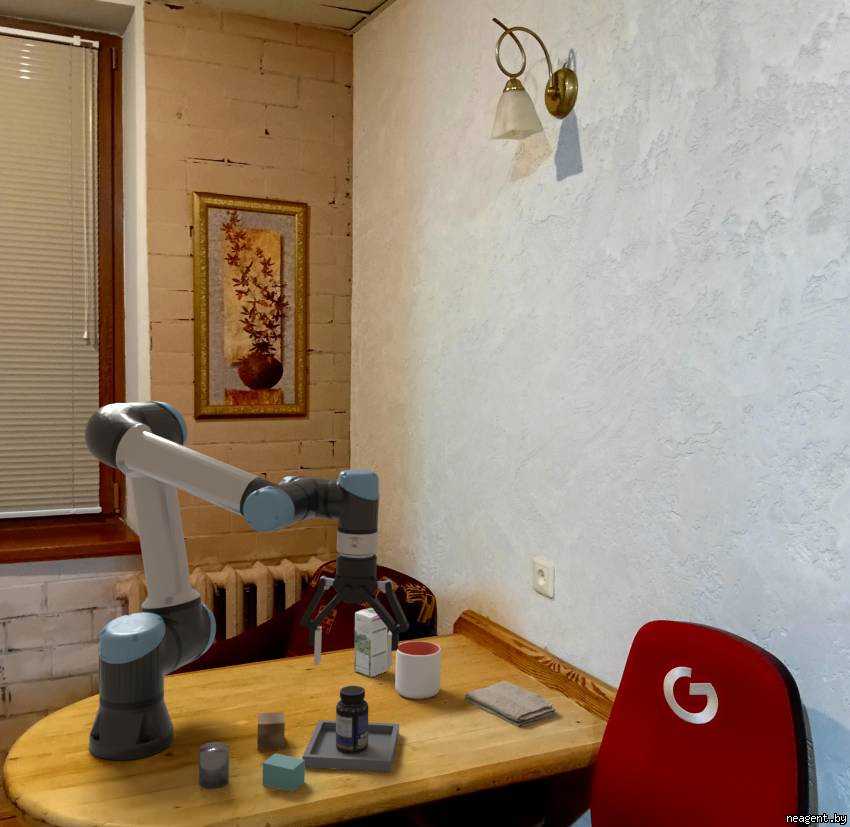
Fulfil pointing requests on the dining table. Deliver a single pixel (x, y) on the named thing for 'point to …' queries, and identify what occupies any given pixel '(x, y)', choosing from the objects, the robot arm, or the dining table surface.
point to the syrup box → (370, 643)
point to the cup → (418, 669)
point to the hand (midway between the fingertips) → (353, 665)
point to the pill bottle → (352, 720)
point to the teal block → (283, 772)
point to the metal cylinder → (214, 765)
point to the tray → (371, 759)
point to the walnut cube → (270, 730)
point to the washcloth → (511, 703)
